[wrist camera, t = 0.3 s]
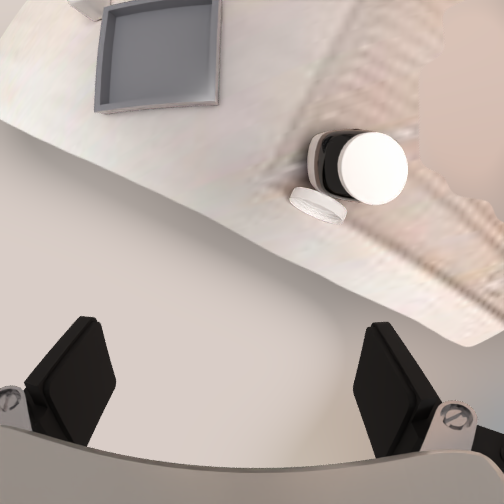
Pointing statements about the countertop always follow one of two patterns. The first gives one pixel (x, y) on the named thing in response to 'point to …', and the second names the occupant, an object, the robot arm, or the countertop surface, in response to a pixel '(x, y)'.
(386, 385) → the robot arm
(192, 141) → the countertop surface
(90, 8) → the eye dropper bottle
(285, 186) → the countertop surface
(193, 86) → the dish
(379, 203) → the spread jar
